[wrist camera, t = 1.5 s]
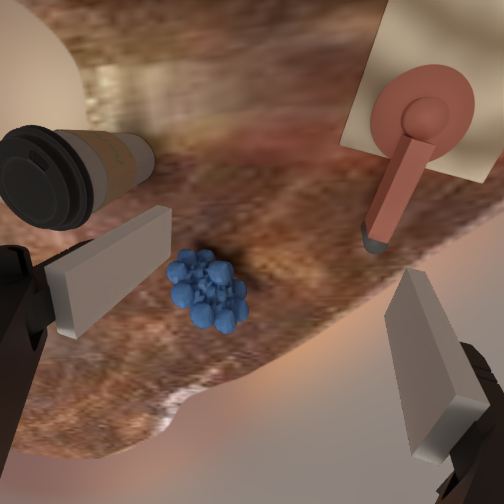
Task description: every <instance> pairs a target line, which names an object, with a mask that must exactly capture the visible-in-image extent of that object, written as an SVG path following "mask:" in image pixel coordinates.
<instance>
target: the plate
mask: <svg viewBox="0 0 504 504" xmlns="http://www.w3.org/2000/svg"><path fill="white" fill-rule="evenodd" d="M429 64H439V65H445V66H449V67H452V68H454V69H456V70H457V71H459V72H460V73H461V74H463V75H464V77H465V78H466V79H467V80H468V82H469V83H470V85H471V87H472V89H473V93H474V99H475V110H474V115H473V119H472V122H471V124H470V127H469V129H468V131H467V132H466V134H465V135H464V137H463V138H462V139H461V141H460V142H459V143H458V144H457V145H456V146H455V147H454V148H453V149H452V150H451V151H449V152H448V153H446V154H445V155H444V156H442V157H440V158H438V159H436V160H433V161H431V162H428V163H427V165H426V167H425V168H427V169H430V170H434V171H438V172H442V173H445V174H449V175H453V176H457V177H460V178H464V179H468V180H472V181H475V182H479V183H483V182H484V180H485V179H486V177H487V175H488V174H489V172H490V170H491V169H492V167H493V165H494V164H495V162H496V160H497V159H498V157H499V155H500V154H501V152H502V150H503V149H504V0H388V3H387V6H386V9H385V12H384V15H383V17H382V20H381V23H380V26H379V29H378V32H377V35H376V38H375V41H374V44H373V47H372V50H371V52H370V55H369V58H368V61H367V64H366V67H365V70H364V73H363V76H362V79H361V82H360V85H359V87H358V90H357V93H356V96H355V99H354V102H353V105H352V108H351V111H350V114H349V117H348V120H347V122H346V125H345V128H344V131H343V134H342V137H341V140H340V143H339V145H341V146H344V147H348V148H352V149H356V150H359V151H363V152H367V153H371V154H374V155H378V156H382V157H386V156H385V155H384V154H383V153H382V152H381V151H380V150H379V148H378V147H377V146H376V144H375V142H374V140H373V138H372V135H371V130H370V118H371V112H372V109H373V106H374V104H375V102H376V100H377V98H378V96H379V94H380V93H381V92H382V90H383V89H384V88H385V87H386V86H387V85H388V84H389V83H390V82H391V81H392V80H393V79H395V78H396V77H398V76H399V75H401V74H403V73H404V72H406V71H408V70H411V69H413V68H416V67H419V66H423V65H429ZM386 158H388V157H386Z"/></svg>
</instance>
